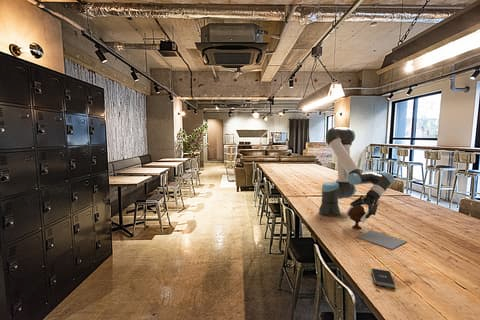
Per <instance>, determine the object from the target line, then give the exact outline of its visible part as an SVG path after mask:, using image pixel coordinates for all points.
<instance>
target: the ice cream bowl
mask: <svg viewBox="0 0 480 320" xmlns="http://www.w3.org/2000/svg"><path fill="white" fill-rule="evenodd" d="M365 213H366V210H365V208H364V206H362V205H357V206H356V207H352V208H351V209H350V211H349V212H348V214H349V216H348V217H349V219H350V220H351V221H354V222H355V224H354V225H353V226H351V228H352V229H354V230H357V231H358V230H362V226H360V225H359V223H361V222H362V221H361V220H360V219H361V218H362V217H363V216H364V215H365Z"/></svg>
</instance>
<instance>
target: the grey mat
mask: <svg viewBox="0 0 480 320" xmlns="http://www.w3.org/2000/svg"><path fill="white" fill-rule="evenodd" d="M354 237H355V238H356V239H360V240H362V241H365V242H367V243H371V244H372V245H376V246H379V247H382V248H385V249H389V250H390V251H392V250H395V249H396V248H398V247H400V246H403V245H405V244H406V243H408V241H407V240H404V239H402V238H397V237H394V236H391V235H388V234H385V233H381V232H378V231H375V230H372V229H370V230H368V231H366V232H363V233H360V234H358V235H355V236H354Z"/></svg>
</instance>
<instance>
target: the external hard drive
mask: <svg viewBox="0 0 480 320" xmlns="http://www.w3.org/2000/svg"><path fill="white" fill-rule="evenodd" d="M371 275H372V278H373V282H374V286H377V287H381V288H385V289H393V290H394V289H396V283H395V281H394V277H393V276H392V274H391V271H390V270H386V269H380V268H379V269H378V268H371Z"/></svg>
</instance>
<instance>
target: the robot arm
mask: <svg viewBox="0 0 480 320" xmlns="http://www.w3.org/2000/svg"><path fill="white" fill-rule="evenodd" d="M355 139H356V133H355V131H354V130H353V129H352V128H350V127H345V126H344V127H332V128H329V129H328V130H327V132H326V134H325V141H326V144H327V146H328V147H329V148H331V149H332V151H333V153H334V155H335V156H336V157H337V178H336V180H335V181H328V182H327V181H326V182H324V183H323V184H322V186H321V204H320V207H319V209H318V213H319V214H320V215H322V216H326V217H338V216H340V215H341V210H340V209H341V208H340V205H339V200H341V199H349V198H352V197H353V196H354V195H355V194H356V191H357V188H356V186H359V185H367V184H372V186H371V188H370V189H369V190H368V191H367V192H366V194H365V196H364V195H360V196H359V197H358V198H356V199H355V200H353V201H352V202H350V203H349V205H350V207H349V208H348V209H347V211H346V212H345V215H347V217H349V214H348V212H349V211H350V209H351V208H352V207H356V206H357V205H361V206H362V205H365V206H366V205H367V206H368V207H367V211H365V215H364V216H363V217H362V218H361V219H360V220H361V222H362V224H365V222H366V221H367V220H368V219H369V218H370V217H371V216H376V214H377V209H378V206H379V205H380V202H379V200H380V198H381V197H382V196H383V195H384V193H385V192H386V191H387V190H388V189H389V187H391V186H392V185H393V183H394V181H395V177H394V176H393V175H392V174H391V173H389V172H383V173H382V174H379V173H376V172H373V171H372V170H371V171H370V170H364V171H363V172H361V170H360V169H359V168H358V166H357V165H356V163H355V162H354V160H353V158H352V157H351V153H350V152H351V151H350V150H351V149H350V148H351V147H352V146H353V142H354V141H355Z"/></svg>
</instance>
